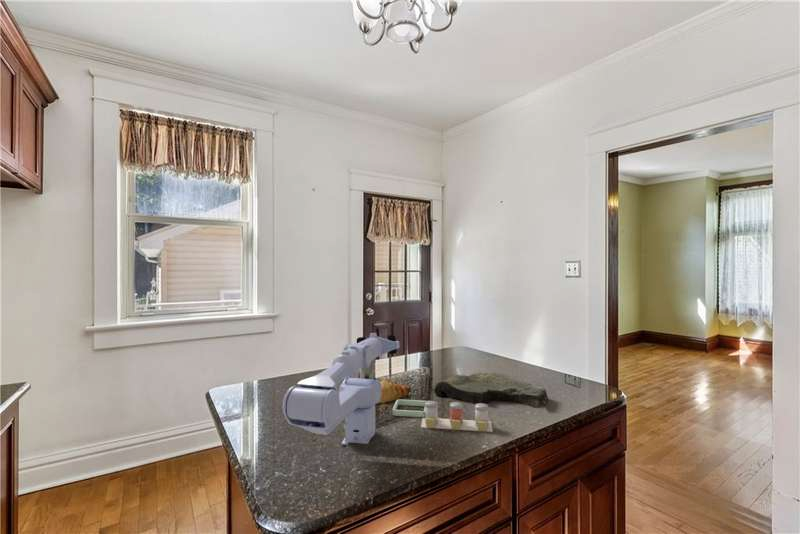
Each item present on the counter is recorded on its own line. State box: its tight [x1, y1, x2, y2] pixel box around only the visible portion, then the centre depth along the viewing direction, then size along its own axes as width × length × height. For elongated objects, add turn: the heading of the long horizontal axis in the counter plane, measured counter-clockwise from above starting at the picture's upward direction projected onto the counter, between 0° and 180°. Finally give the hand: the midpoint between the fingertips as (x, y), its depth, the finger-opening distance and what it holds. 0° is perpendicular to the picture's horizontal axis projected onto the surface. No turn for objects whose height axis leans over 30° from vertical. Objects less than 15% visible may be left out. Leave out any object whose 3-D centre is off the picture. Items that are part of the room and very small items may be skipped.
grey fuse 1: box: [424, 400, 439, 425], centre depth 107 cm, size 4×4×6 cm
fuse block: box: [420, 417, 494, 433], centre depth 106 cm, size 6×20×3 cm, turn 81°
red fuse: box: [449, 401, 464, 426], centre depth 106 cm, size 4×4×6 cm
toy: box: [355, 358, 377, 380], centre depth 147 cm, size 6×19×15 cm, turn 16°
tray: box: [391, 398, 428, 418], centre depth 116 cm, size 9×10×2 cm
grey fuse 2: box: [474, 403, 489, 428], centre depth 105 cm, size 4×4×6 cm
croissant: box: [377, 379, 412, 404], centre depth 128 cm, size 21×10×8 cm, turn 117°
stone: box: [433, 372, 549, 409], centre depth 130 cm, size 35×6×29 cm
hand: (383, 341), depth 120 cm, fingers open, 7 cm apart
